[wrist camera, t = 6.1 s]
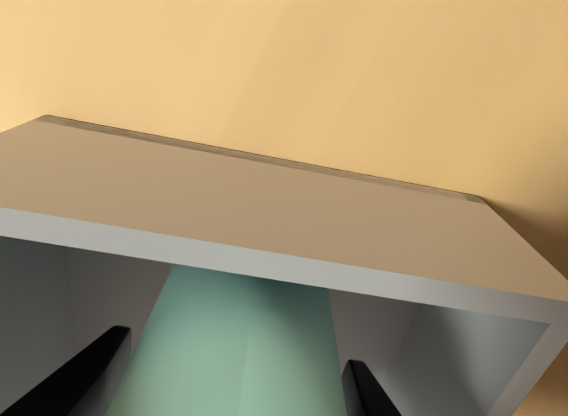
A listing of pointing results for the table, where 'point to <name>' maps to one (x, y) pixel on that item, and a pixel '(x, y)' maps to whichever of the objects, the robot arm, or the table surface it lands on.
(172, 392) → the teal cylinder
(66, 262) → the tote
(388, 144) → the table surface
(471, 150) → the table surface
